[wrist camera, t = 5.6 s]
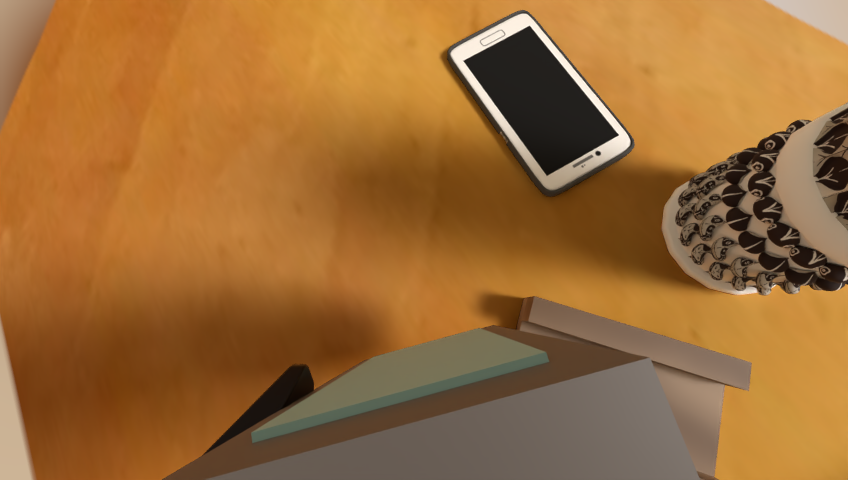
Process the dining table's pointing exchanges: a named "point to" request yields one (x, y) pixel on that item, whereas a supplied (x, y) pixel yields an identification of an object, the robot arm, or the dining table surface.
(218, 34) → the dining table surface
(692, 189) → the decorative candle
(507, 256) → the dining table surface
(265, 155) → the dining table surface
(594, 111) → the cell phone
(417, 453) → the grey rectangular box
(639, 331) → the tray
